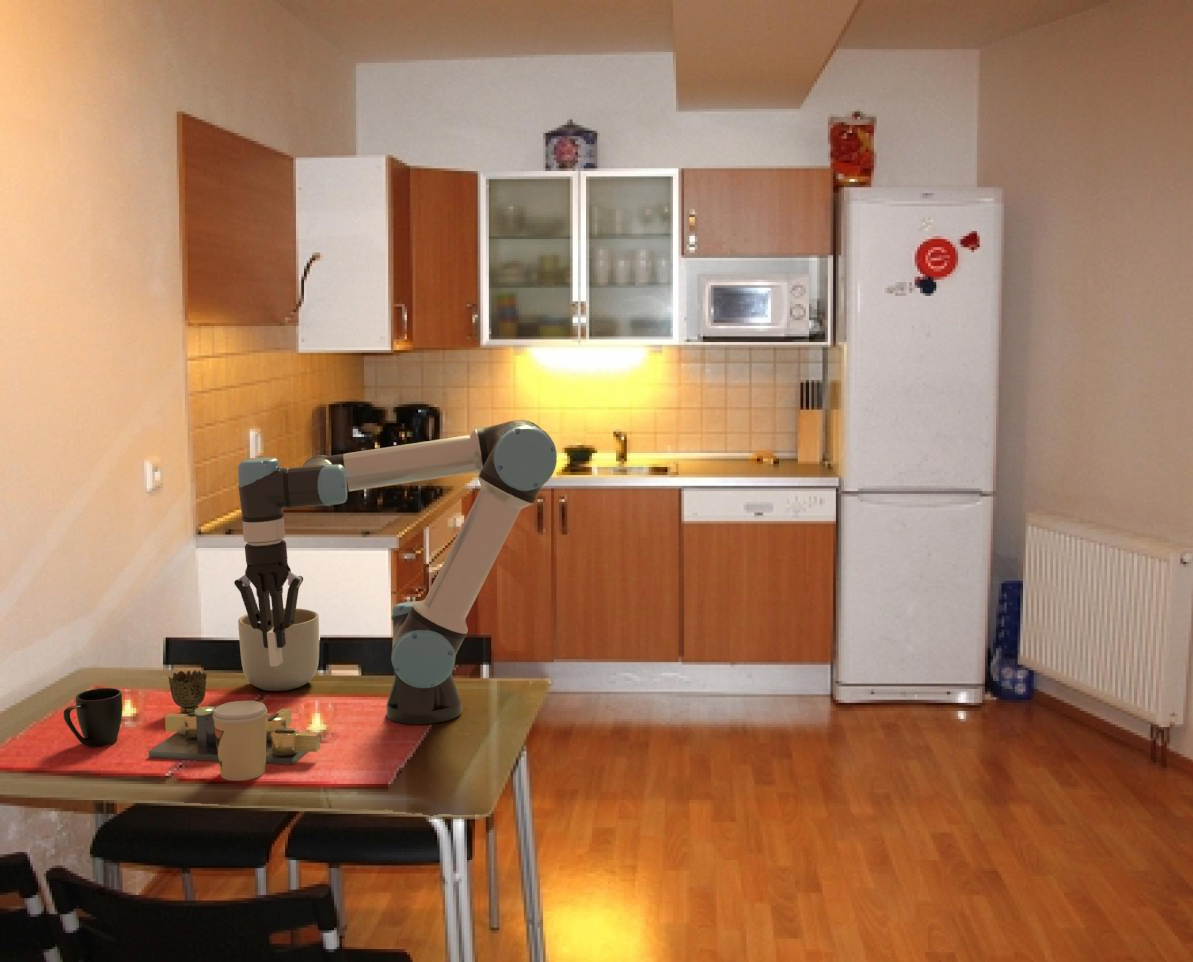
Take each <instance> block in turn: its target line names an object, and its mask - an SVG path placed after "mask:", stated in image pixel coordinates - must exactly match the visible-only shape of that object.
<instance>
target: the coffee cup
mask: <svg viewBox="0 0 1193 962" xmlns="http://www.w3.org/2000/svg"><path fill="white" fill-rule="evenodd" d="M266 715H268V708H267V707H266V705H265V704H264V703H263V702H261V701H258V700H257V701H256V700H236V701H230V702H225V703H223V704H221V705H220V706H218V707H216V708H215V710H214V713H213V719H214V726H215V735H216V743H217V751H218V759H219V761H218V765H219V773H220V776H221V778H222V779H224V780H226V781H233V782H234V781H237V782H240V781H248V780H252V779H256V778H260V777H261V776H262V775H264V774H265V773H266Z"/></svg>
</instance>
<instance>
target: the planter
mask: <svg viewBox="0 0 1193 962" xmlns="http://www.w3.org/2000/svg"><path fill="white" fill-rule="evenodd" d="M283 608H284V607H283ZM284 614H285V608H284ZM271 619H272V625H274V623H273V612H272V608H271ZM237 623H238V625H237V626H238V637H239V649H240V659H241V660H240V661H241V667H242V672H243V674H244V677H245V678H246V680H247V681H248V682H249V683H250V684H251V685H252V686H254V687H256V688H257V689H260V690H263V691H267V692H269V691H270V692H282V691H289V690H290V691H292V690H295V689H298V688H301V687H303V686H305V685H307V684H308V683H309V682H310V681H311V680H312V679H313V678H314V676H315V675H316V674H317V671H318V667H319V660H320V616H319V614H318V612H316V611H314V610H311V609H306V608H296V612H295V619H294V624H293V625H291V626H290V627H288V628H286V629H285V641H286V644H285V646H284V647H282V656H283V663H281V664H280V665H279V666H270V661H269V651H268V648H265V647H264V644H263V634H262V631H261V630H259V629H253V628H252V626H251V623H250V620H249V617H248V614H244V615H242V616H240V617H239V618H238V621H237ZM272 629H274V626H273V627H272V628H271V630H272Z"/></svg>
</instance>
